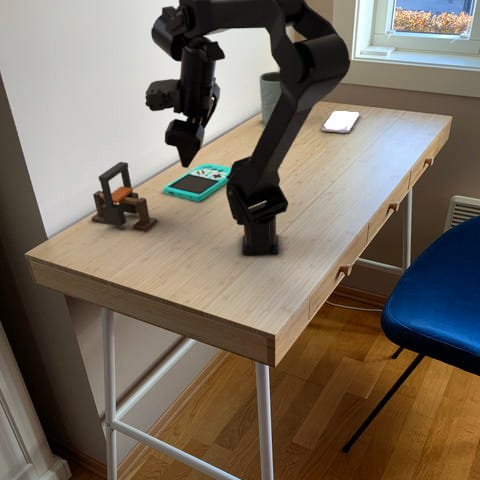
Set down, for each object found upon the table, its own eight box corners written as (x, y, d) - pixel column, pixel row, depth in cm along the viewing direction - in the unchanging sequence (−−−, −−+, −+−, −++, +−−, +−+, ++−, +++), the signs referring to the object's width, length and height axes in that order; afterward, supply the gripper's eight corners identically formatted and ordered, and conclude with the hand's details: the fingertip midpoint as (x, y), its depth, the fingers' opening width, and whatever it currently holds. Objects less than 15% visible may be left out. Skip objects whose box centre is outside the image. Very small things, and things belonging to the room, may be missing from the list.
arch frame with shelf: (121, 226, 102) (110, 178, 96) (105, 223, 104) (93, 175, 97) (141, 210, 107) (132, 163, 101) (125, 207, 109) (115, 161, 102)
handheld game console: (240, 174, 121) (240, 168, 121) (200, 202, 111) (199, 196, 110) (204, 166, 126) (204, 161, 125) (162, 193, 116) (161, 187, 115)
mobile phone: (360, 112, 148) (349, 130, 137) (359, 115, 149) (348, 133, 138) (333, 110, 151) (320, 127, 140) (333, 113, 151) (320, 131, 140)
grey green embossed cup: (277, 113, 154) (277, 69, 147) (303, 120, 148) (304, 74, 141) (252, 122, 149) (251, 77, 142) (278, 130, 143) (278, 83, 136)
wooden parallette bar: (157, 221, 105) (153, 196, 102) (146, 231, 102) (142, 205, 99) (103, 212, 110) (97, 187, 106) (92, 221, 107) (85, 196, 103)
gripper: (165, 39, 95) (162, 117, 107) (134, 92, 83) (135, 172, 96) (225, 53, 95) (215, 130, 107) (203, 108, 84) (195, 186, 96)
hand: (190, 152), depth 102 cm, fingers open, 9 cm apart
